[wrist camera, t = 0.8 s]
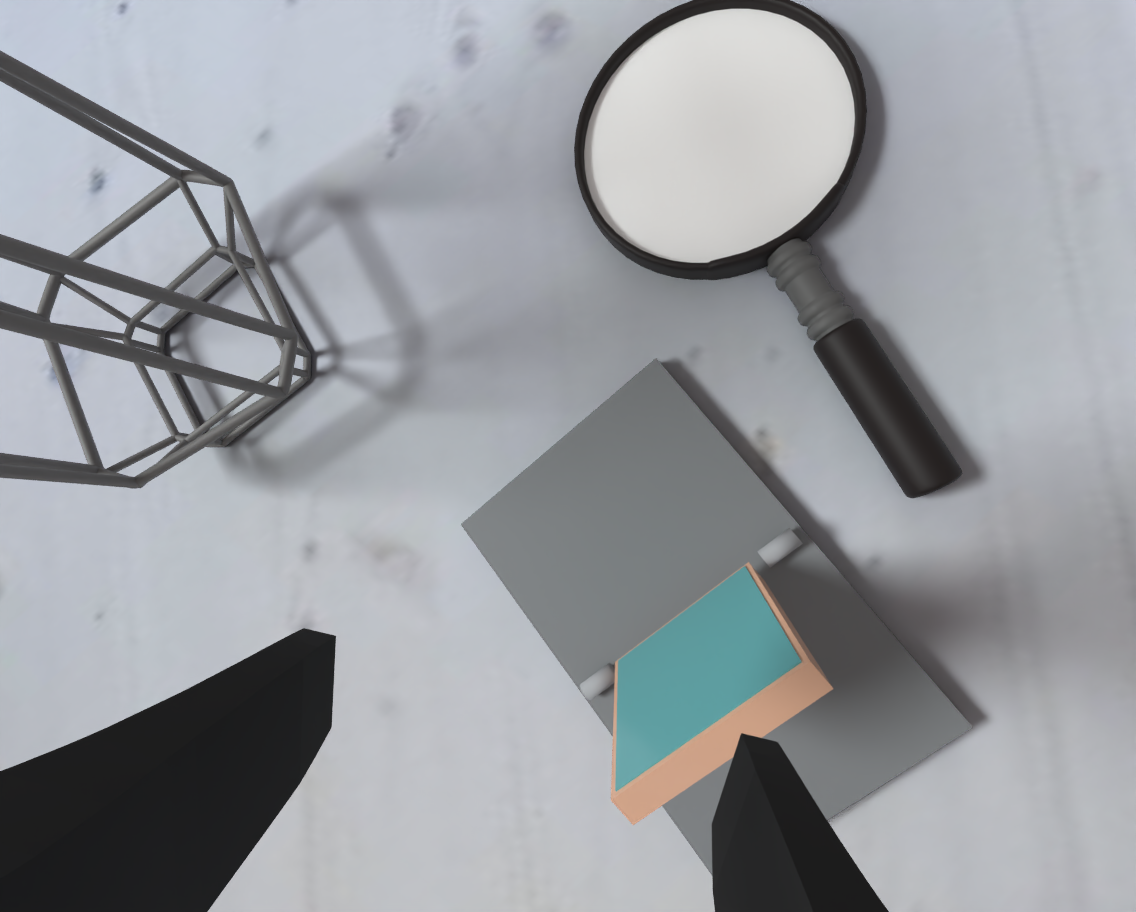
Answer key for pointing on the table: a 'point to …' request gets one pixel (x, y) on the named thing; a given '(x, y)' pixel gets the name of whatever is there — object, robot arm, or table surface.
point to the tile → (705, 691)
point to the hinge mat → (700, 588)
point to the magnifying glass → (748, 182)
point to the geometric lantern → (89, 339)
